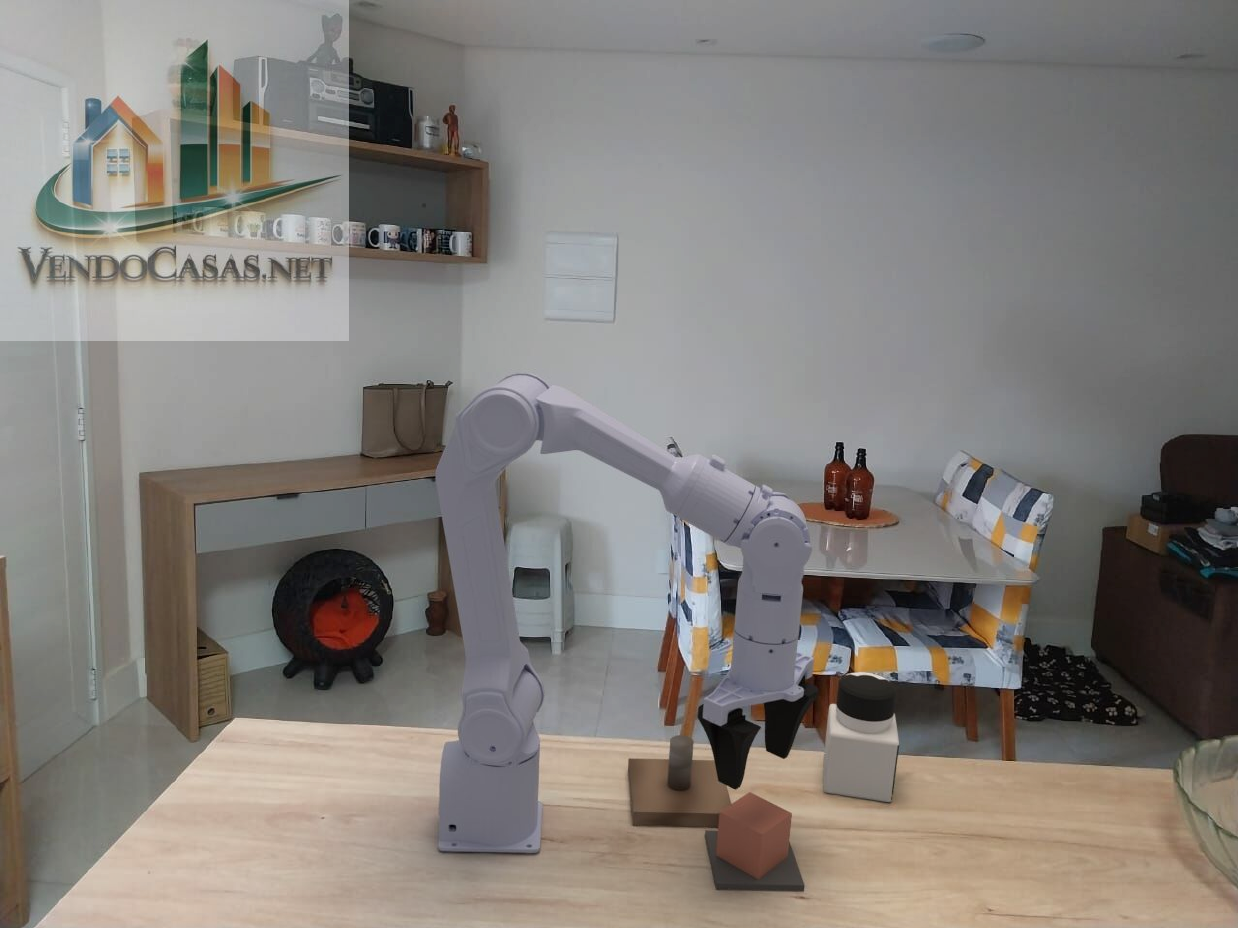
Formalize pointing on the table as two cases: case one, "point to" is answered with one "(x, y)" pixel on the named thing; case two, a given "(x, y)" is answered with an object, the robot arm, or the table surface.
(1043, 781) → the table surface
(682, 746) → the post block
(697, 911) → the table surface
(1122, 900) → the table surface
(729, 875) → the mat
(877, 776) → the medicine bottle
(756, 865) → the terracotta cube
